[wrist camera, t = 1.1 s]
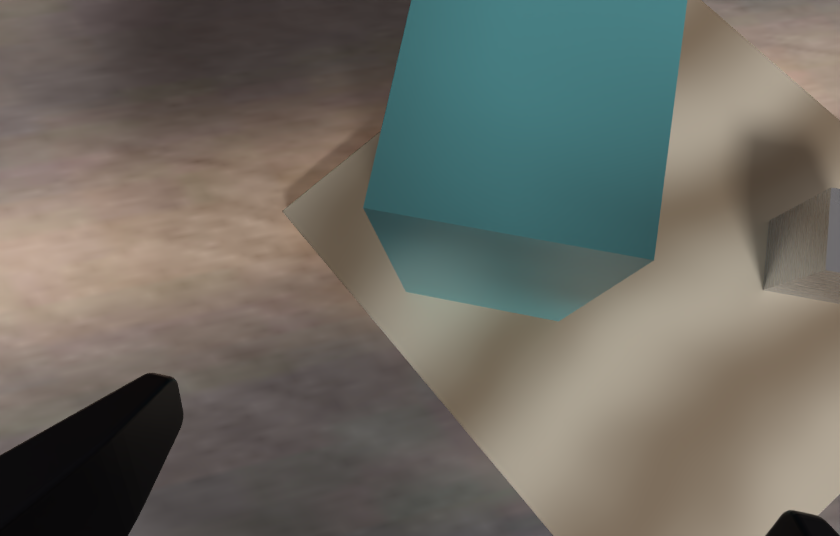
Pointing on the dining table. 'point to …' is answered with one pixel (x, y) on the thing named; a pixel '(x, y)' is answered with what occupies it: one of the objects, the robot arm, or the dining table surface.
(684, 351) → the thin wavy beige sheet
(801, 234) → the block
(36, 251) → the dining table surface
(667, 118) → the upright teal box
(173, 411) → the robot arm
